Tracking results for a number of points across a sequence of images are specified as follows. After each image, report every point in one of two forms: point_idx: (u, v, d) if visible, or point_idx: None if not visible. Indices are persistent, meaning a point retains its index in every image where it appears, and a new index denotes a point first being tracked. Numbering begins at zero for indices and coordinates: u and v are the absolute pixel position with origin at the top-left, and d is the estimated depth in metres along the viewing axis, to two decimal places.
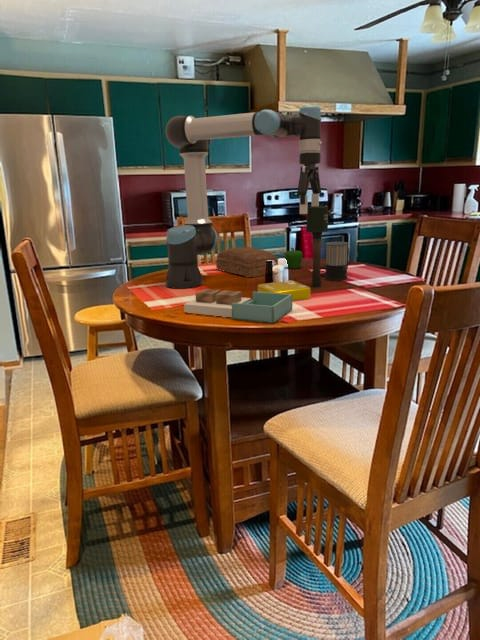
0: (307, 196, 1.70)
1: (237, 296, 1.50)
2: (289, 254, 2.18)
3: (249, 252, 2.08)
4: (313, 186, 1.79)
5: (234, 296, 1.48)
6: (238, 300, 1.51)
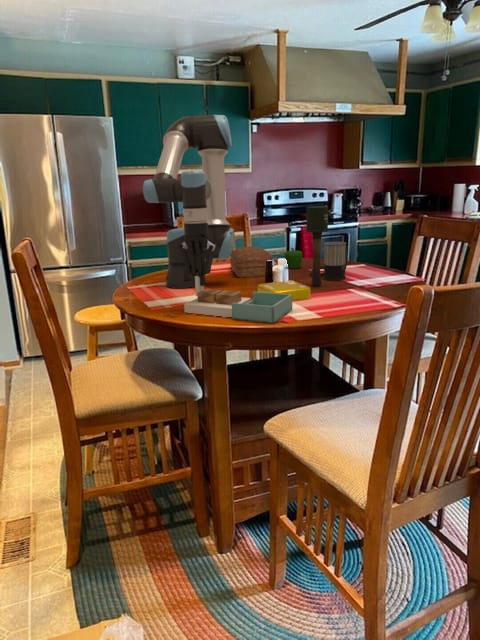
0: (196, 277, 1.53)
1: (237, 296, 1.50)
2: (289, 254, 2.18)
3: (245, 252, 2.08)
4: None
5: (234, 296, 1.48)
6: (238, 300, 1.51)
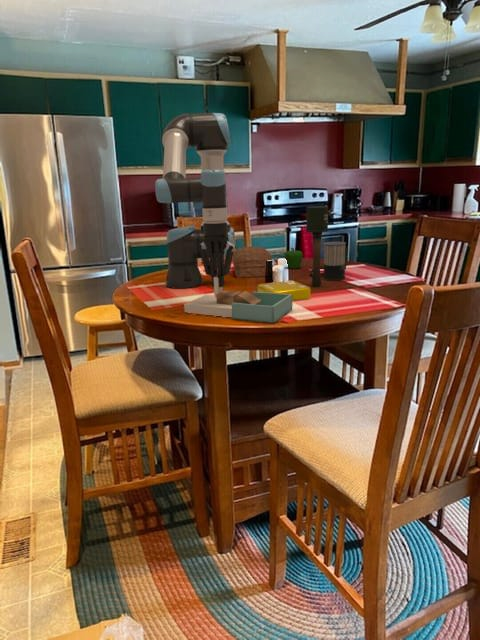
0: (215, 278, 1.50)
1: None
2: (289, 254, 2.18)
3: (245, 252, 2.08)
4: None
5: None
6: None
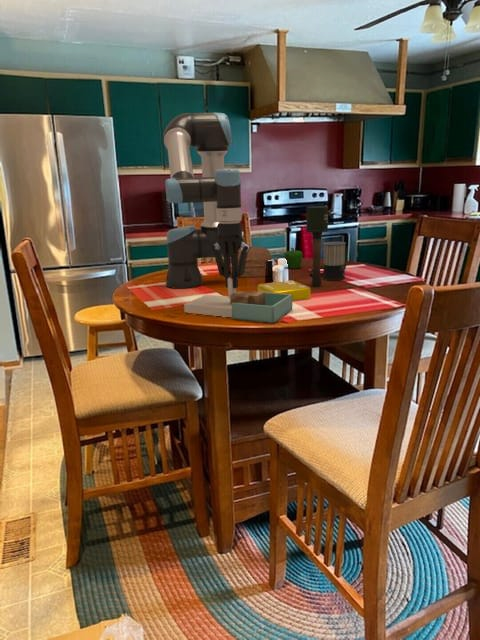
0: (229, 279, 1.48)
1: None
2: (289, 254, 2.18)
3: None
4: None
5: None
6: None
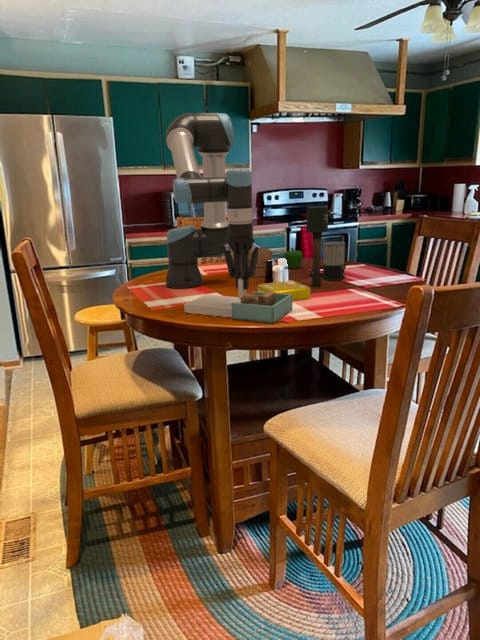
0: (239, 280, 1.46)
1: None
2: (289, 254, 2.18)
3: None
4: None
5: None
6: None
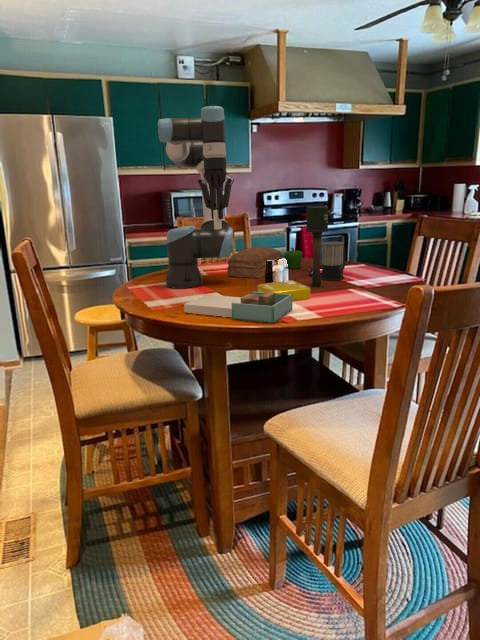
0: (215, 211, 1.62)
1: None
2: (289, 254, 2.18)
3: (241, 252, 2.09)
4: None
5: None
6: None
